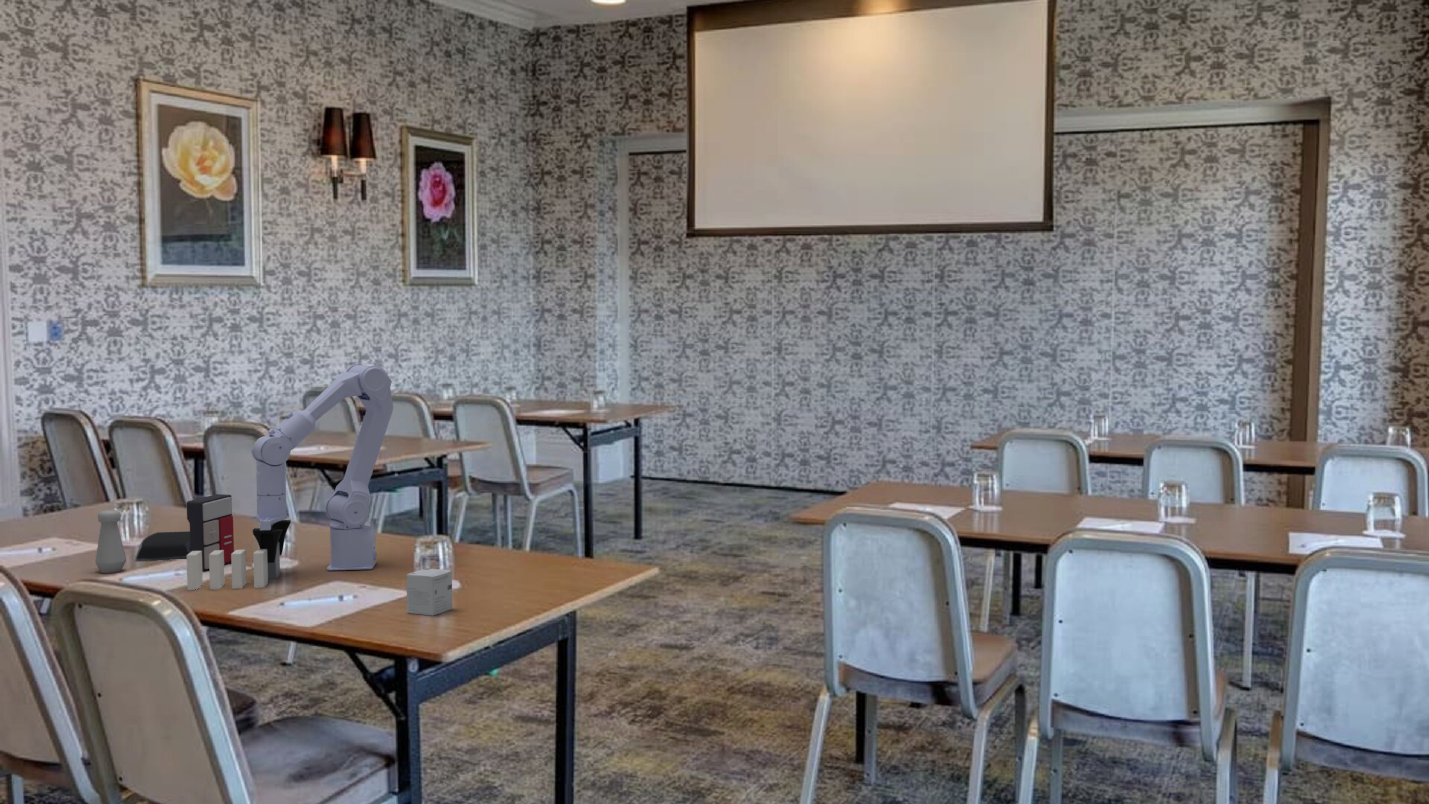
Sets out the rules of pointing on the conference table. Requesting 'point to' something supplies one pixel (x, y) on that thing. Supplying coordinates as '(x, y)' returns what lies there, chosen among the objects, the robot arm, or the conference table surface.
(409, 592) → the skincare box
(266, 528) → the robot arm
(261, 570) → the tile
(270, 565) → the tile
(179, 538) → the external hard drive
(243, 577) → the tile
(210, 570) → the tile
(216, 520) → the calculator
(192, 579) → the tile
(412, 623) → the conference table surface
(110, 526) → the salt shaker
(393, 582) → the conference table surface
